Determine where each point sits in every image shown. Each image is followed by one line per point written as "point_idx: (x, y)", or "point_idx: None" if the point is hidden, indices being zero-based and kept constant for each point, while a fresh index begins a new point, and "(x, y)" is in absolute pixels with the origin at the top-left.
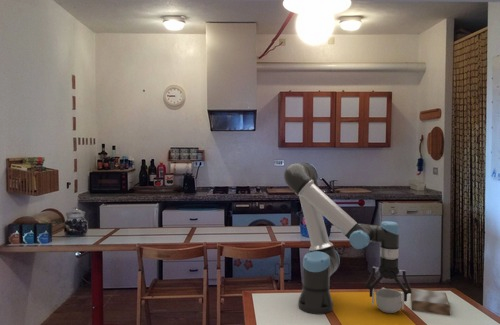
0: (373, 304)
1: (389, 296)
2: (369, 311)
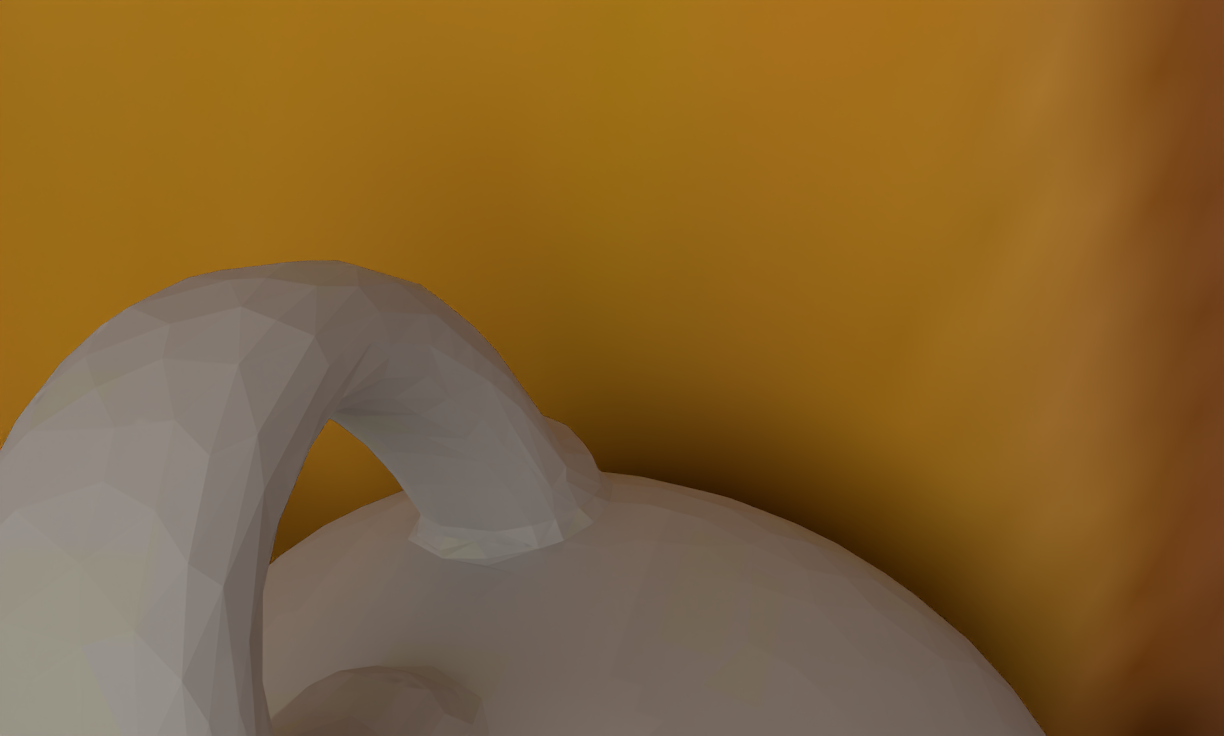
0: None
1: (677, 724)
2: None
